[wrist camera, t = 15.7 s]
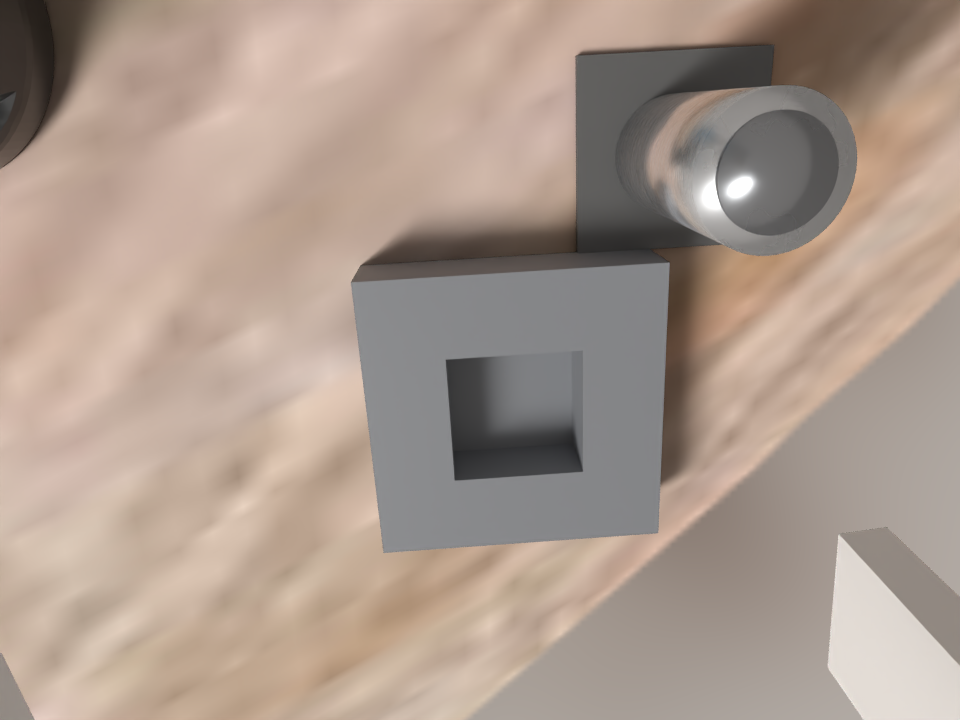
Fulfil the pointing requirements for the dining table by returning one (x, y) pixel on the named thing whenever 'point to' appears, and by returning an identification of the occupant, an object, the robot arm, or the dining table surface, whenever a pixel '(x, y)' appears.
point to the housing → (514, 396)
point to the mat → (605, 110)
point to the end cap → (741, 164)
